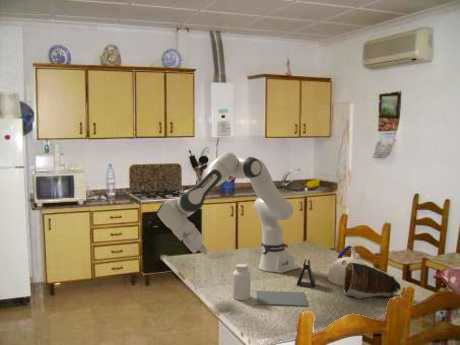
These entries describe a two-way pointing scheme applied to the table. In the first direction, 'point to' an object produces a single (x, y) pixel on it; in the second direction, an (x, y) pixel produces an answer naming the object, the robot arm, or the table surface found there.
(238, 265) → the pill bottle
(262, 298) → the mat
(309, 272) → the phone stand
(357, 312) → the table surface
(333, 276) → the kettle
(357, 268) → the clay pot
